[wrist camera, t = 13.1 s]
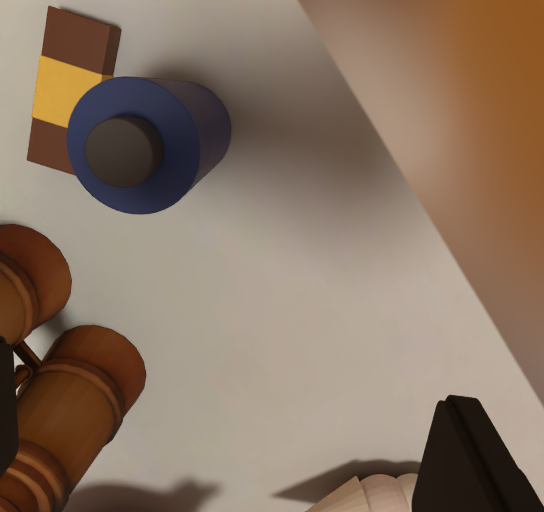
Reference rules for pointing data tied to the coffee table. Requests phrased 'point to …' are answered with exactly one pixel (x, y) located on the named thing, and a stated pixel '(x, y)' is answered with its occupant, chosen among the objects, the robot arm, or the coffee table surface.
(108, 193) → the water bottle
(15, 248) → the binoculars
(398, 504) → the ice cream cone
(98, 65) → the chocolate bar
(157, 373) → the coffee table surface
